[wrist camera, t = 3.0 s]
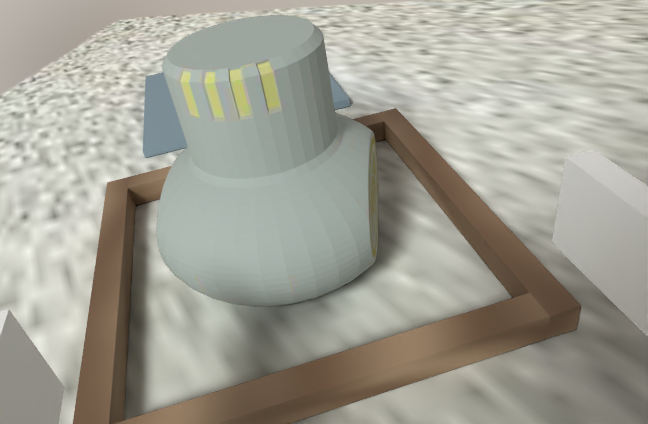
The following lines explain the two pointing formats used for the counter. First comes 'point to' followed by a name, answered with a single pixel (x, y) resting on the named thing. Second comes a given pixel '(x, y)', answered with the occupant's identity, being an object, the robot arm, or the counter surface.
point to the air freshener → (265, 168)
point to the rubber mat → (164, 121)
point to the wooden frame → (345, 367)
